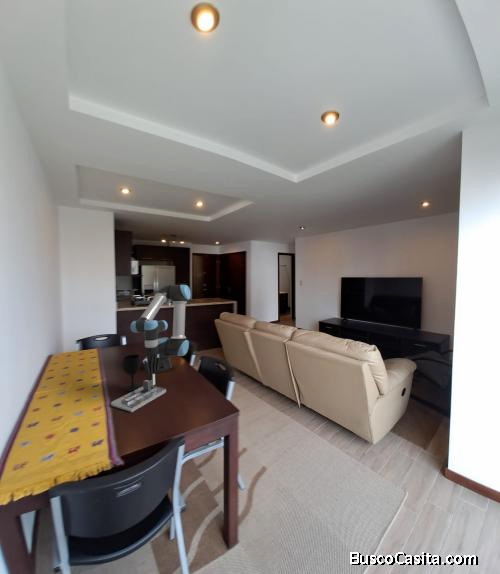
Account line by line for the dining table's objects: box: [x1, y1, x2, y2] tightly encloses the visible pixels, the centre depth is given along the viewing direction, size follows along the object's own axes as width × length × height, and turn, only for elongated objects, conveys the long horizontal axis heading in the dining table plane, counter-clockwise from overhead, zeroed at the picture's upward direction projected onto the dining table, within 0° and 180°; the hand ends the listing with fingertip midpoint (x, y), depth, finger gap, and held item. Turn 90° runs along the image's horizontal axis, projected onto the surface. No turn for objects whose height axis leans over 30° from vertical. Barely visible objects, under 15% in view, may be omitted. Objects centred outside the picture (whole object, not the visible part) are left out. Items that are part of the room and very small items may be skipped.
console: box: [110, 385, 167, 413], centre depth 138 cm, size 24×16×3 cm, turn 155°
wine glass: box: [122, 354, 143, 393], centre depth 152 cm, size 10×10×20 cm
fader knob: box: [142, 379, 151, 392], centre depth 143 cm, size 2×4×6 cm, turn 65°
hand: (152, 384), depth 146 cm, fingers closed
